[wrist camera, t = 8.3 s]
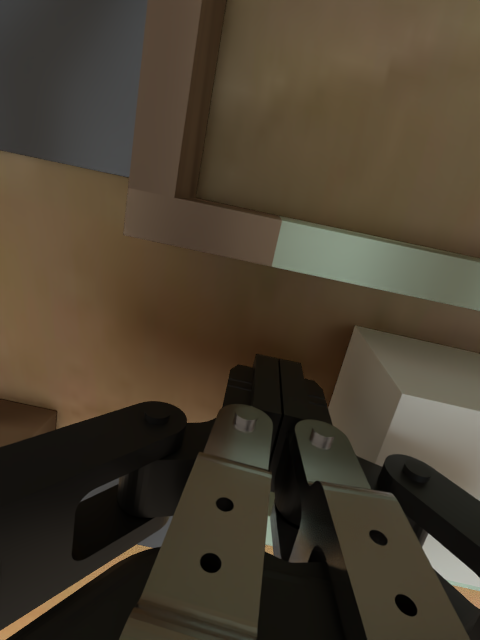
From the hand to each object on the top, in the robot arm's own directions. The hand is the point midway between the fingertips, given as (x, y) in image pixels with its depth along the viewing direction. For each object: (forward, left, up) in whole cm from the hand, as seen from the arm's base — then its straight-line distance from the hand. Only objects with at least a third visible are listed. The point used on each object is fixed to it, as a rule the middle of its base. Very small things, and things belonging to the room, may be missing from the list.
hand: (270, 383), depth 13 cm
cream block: (-5, 0, -2) cm, 5 cm away
